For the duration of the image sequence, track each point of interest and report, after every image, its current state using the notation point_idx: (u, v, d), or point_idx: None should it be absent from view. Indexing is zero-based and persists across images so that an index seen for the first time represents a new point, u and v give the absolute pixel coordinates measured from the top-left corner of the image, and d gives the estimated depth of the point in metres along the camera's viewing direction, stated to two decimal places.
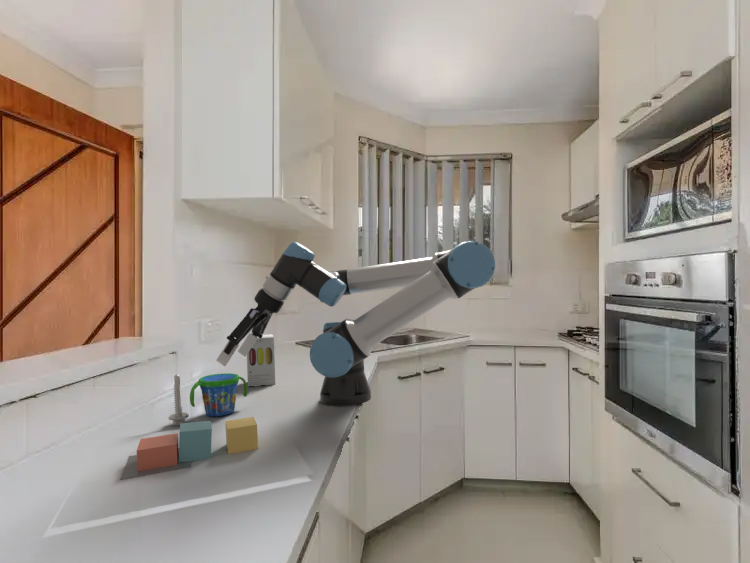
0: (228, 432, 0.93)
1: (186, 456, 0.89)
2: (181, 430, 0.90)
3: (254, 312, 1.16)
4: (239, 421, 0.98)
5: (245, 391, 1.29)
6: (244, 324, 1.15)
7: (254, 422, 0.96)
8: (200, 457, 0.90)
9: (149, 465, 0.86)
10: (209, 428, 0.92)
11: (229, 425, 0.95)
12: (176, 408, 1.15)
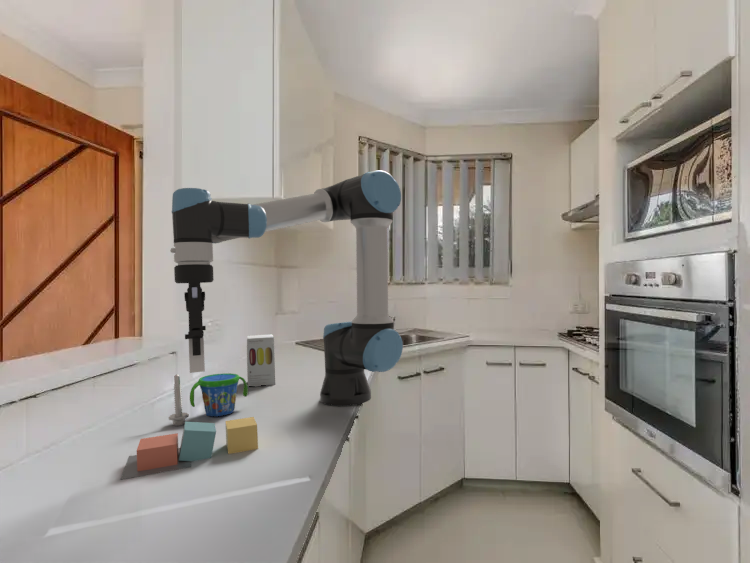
0: (228, 432, 0.93)
1: (186, 456, 0.89)
2: (186, 428, 0.90)
3: (195, 289, 0.87)
4: (239, 421, 0.98)
5: (245, 391, 1.29)
6: (195, 309, 0.86)
7: (254, 422, 0.96)
8: (200, 458, 0.90)
9: (149, 465, 0.86)
10: (213, 430, 0.92)
11: (229, 425, 0.95)
12: (176, 408, 1.15)
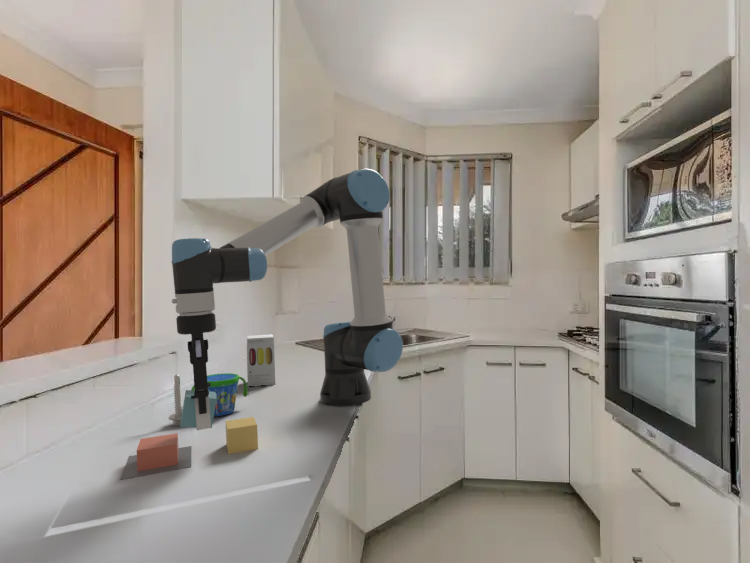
0: (228, 432, 0.93)
1: (188, 422, 0.90)
2: (187, 395, 0.91)
3: (199, 349, 0.87)
4: (239, 421, 0.98)
5: (245, 391, 1.29)
6: (200, 370, 0.88)
7: (254, 422, 0.96)
8: None
9: (149, 465, 0.86)
10: (214, 397, 0.92)
11: (229, 425, 0.95)
12: (176, 408, 1.15)
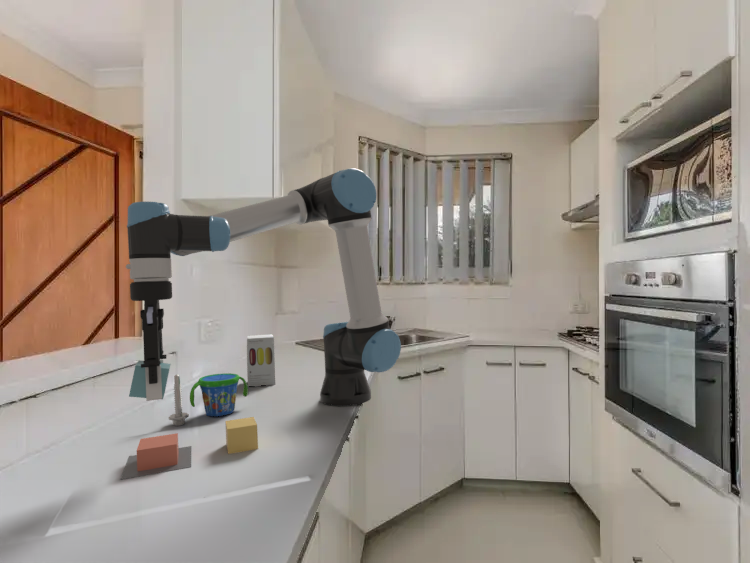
0: (228, 432, 0.93)
1: (137, 392, 0.86)
2: (137, 364, 0.87)
3: (150, 315, 0.84)
4: (239, 421, 0.98)
5: (245, 391, 1.29)
6: (150, 337, 0.84)
7: (254, 422, 0.96)
8: None
9: (149, 465, 0.86)
10: (166, 367, 0.89)
11: (229, 425, 0.95)
12: (176, 408, 1.15)
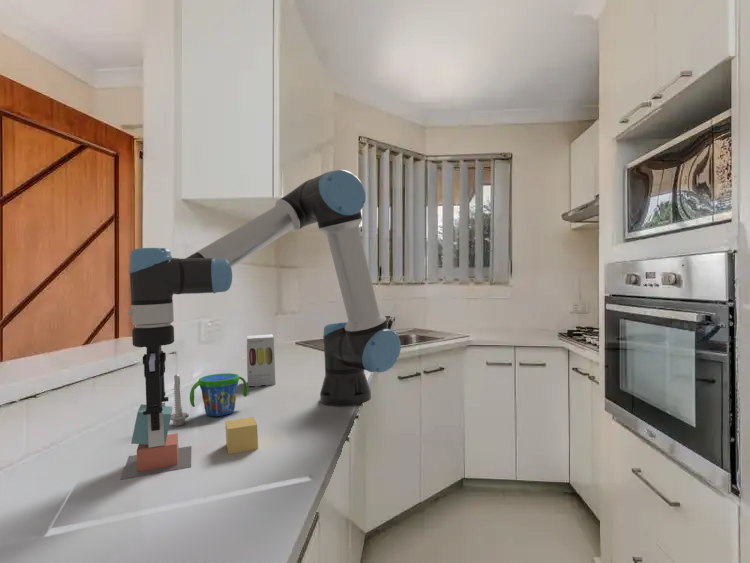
0: (228, 432, 0.93)
1: (139, 439, 0.86)
2: (140, 411, 0.87)
3: (152, 364, 0.84)
4: (239, 421, 0.98)
5: (245, 391, 1.29)
6: (153, 385, 0.84)
7: (254, 422, 0.96)
8: None
9: (149, 465, 0.86)
10: (168, 413, 0.89)
11: (229, 425, 0.95)
12: (176, 408, 1.15)
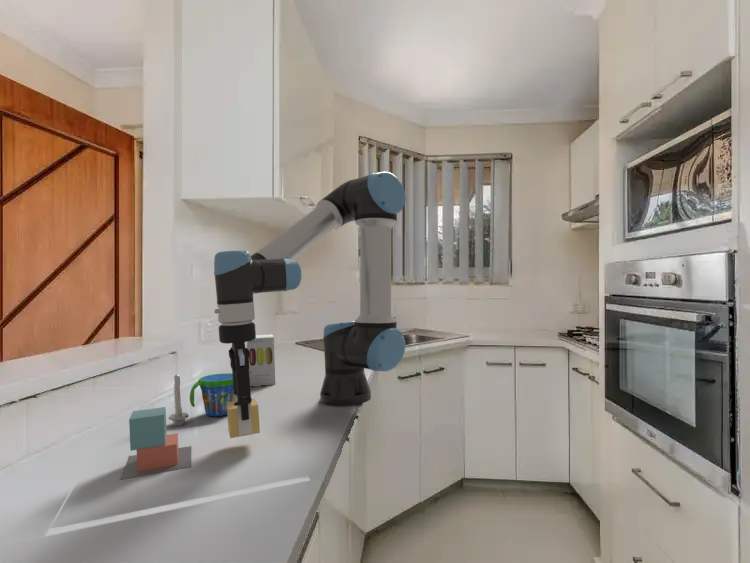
0: (229, 412, 0.93)
1: (138, 444, 0.86)
2: (131, 417, 0.87)
3: (242, 358, 0.91)
4: None
5: None
6: (243, 378, 0.91)
7: (255, 403, 0.97)
8: (153, 444, 0.87)
9: (149, 465, 0.86)
10: (161, 414, 0.88)
11: (230, 406, 0.96)
12: (176, 408, 1.15)
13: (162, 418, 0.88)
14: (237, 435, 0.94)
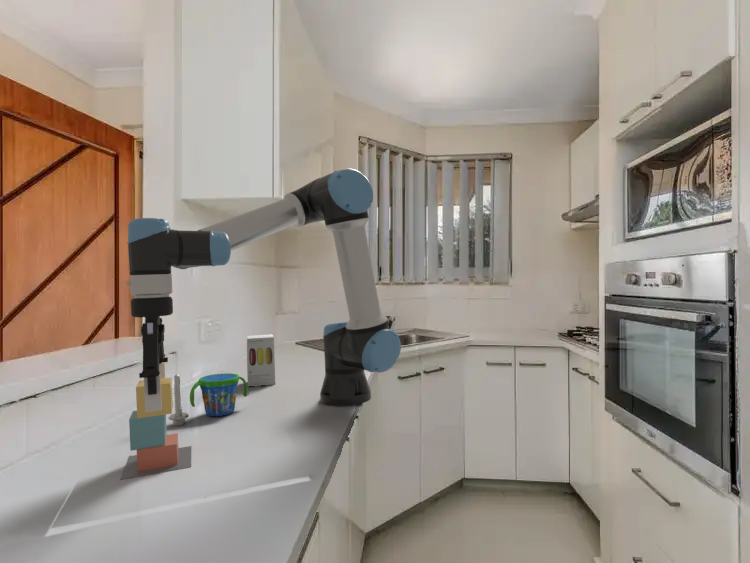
0: (137, 390, 0.86)
1: (138, 444, 0.86)
2: (131, 417, 0.87)
3: (150, 325, 0.84)
4: None
5: (245, 391, 1.29)
6: (150, 346, 0.83)
7: (168, 381, 0.90)
8: (153, 444, 0.87)
9: (149, 465, 0.86)
10: None
11: (140, 384, 0.89)
12: (176, 408, 1.15)
13: (162, 418, 0.88)
14: (145, 415, 0.87)
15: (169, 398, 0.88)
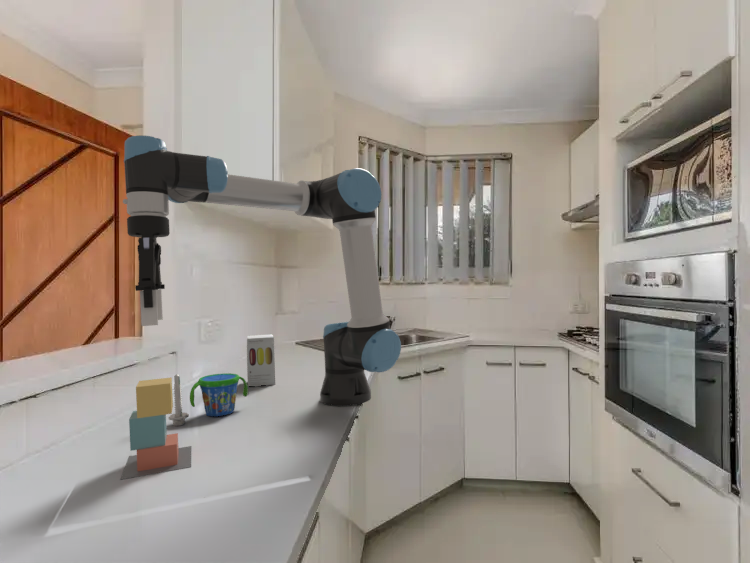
0: (137, 390, 0.86)
1: (138, 444, 0.86)
2: (131, 417, 0.87)
3: (147, 239, 0.84)
4: (154, 380, 0.91)
5: (245, 391, 1.29)
6: (146, 259, 0.82)
7: (168, 381, 0.90)
8: (153, 444, 0.87)
9: (149, 465, 0.86)
10: None
11: (140, 384, 0.89)
12: (176, 408, 1.15)
13: (162, 418, 0.88)
14: (145, 415, 0.87)
15: (169, 398, 0.88)
